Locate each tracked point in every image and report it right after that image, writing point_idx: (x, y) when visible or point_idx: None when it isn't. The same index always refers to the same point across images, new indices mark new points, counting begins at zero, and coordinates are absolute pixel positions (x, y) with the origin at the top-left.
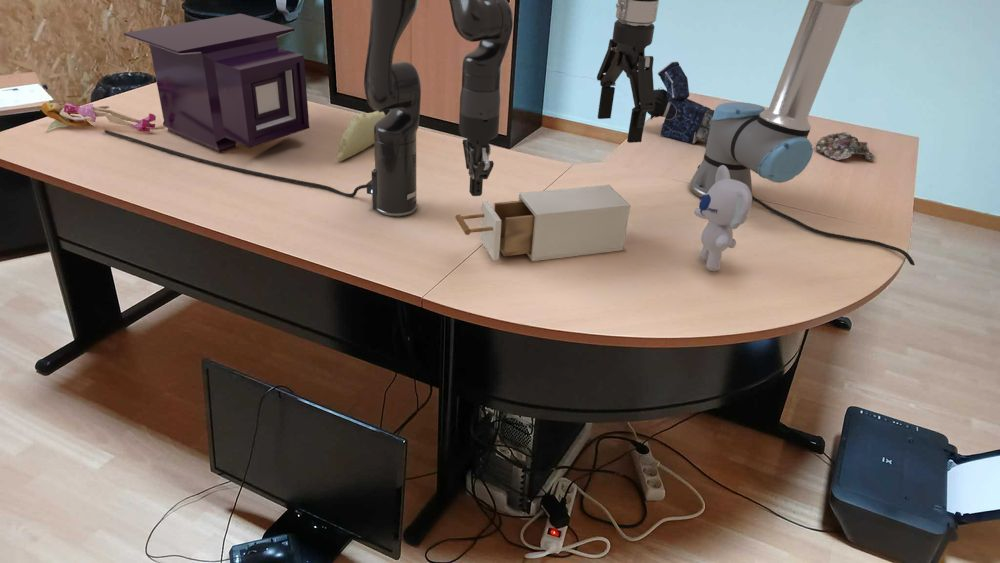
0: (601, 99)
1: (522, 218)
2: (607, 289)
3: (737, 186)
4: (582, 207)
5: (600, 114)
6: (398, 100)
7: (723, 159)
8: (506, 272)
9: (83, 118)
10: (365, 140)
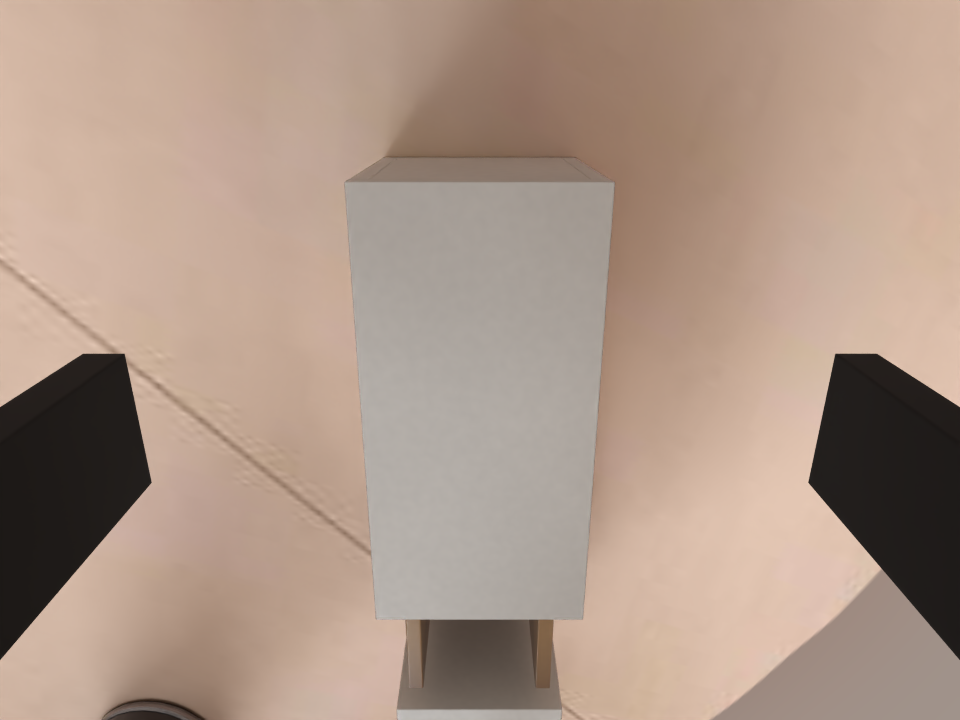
0: (4, 644)
1: (551, 637)
2: (797, 339)
3: None
4: (572, 429)
5: (126, 503)
6: None
7: None
8: (597, 579)
9: None
10: None
